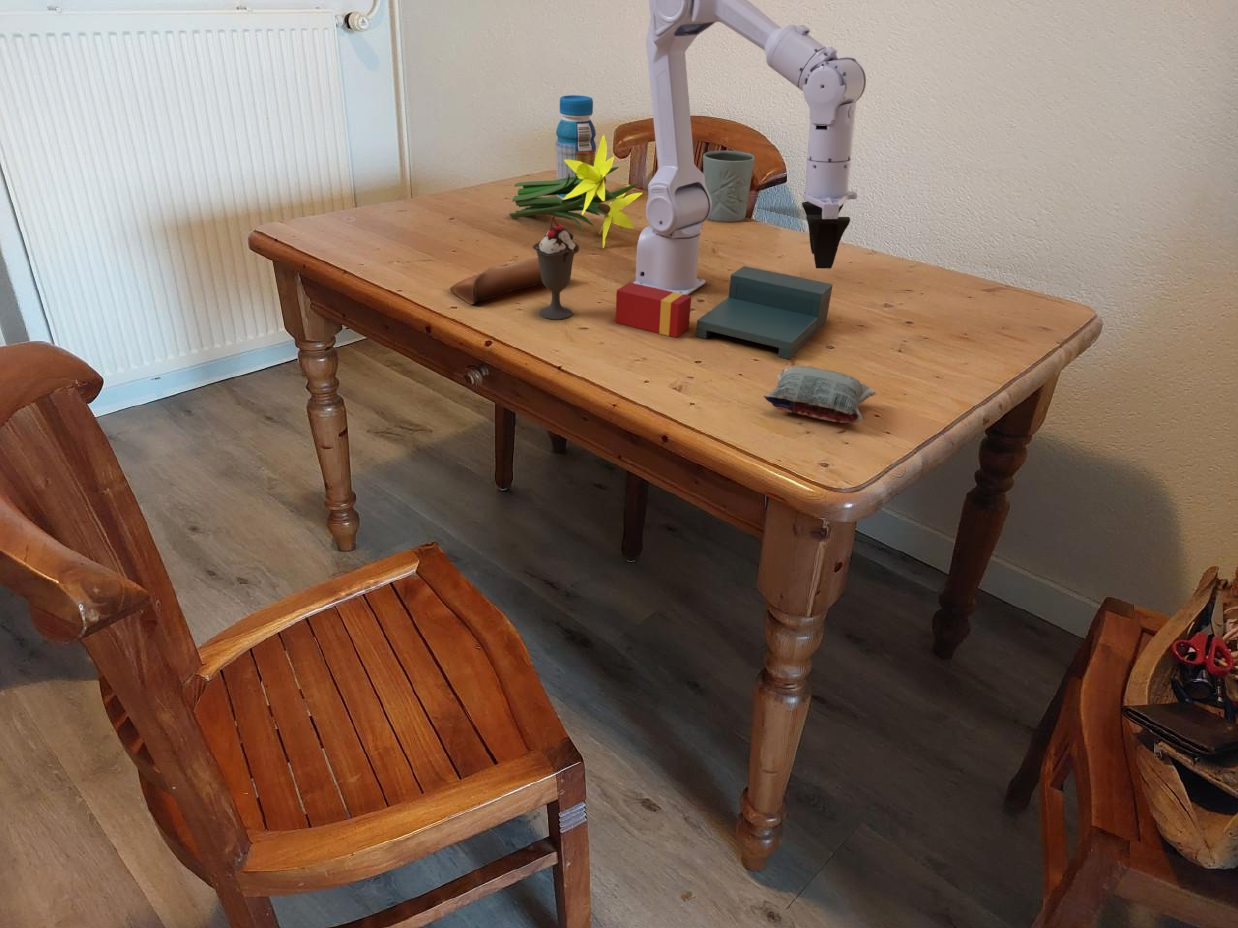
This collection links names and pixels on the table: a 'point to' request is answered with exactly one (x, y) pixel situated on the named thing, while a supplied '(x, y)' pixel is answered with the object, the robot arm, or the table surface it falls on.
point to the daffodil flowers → (584, 181)
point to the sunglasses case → (498, 281)
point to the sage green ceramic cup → (728, 183)
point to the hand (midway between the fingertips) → (821, 260)
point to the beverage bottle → (575, 134)
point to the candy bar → (653, 309)
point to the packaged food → (819, 394)
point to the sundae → (556, 267)
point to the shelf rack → (769, 310)
